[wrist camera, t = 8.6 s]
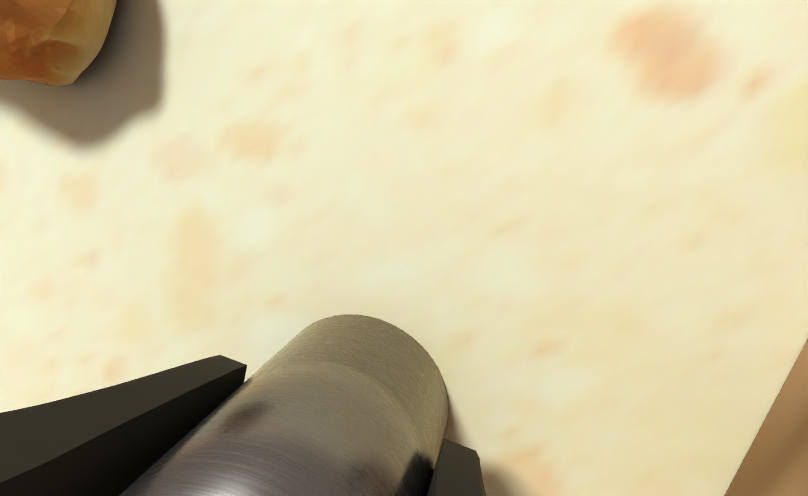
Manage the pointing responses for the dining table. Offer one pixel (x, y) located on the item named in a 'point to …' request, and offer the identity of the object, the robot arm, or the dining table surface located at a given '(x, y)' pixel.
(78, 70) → the pastry
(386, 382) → the dark grey short cylinder
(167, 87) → the dining table surface
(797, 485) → the socket block
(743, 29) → the dining table surface
